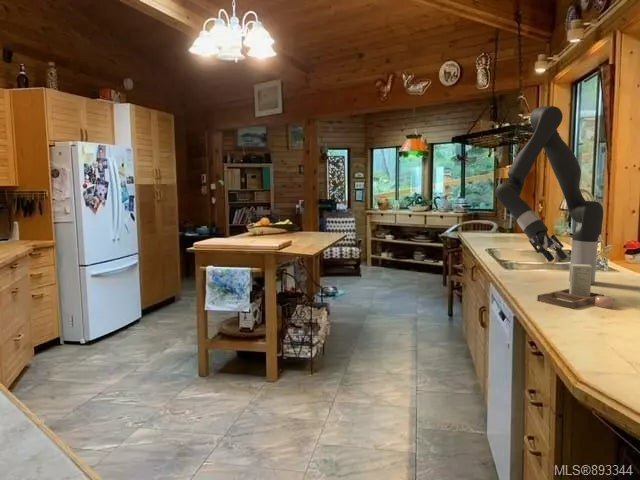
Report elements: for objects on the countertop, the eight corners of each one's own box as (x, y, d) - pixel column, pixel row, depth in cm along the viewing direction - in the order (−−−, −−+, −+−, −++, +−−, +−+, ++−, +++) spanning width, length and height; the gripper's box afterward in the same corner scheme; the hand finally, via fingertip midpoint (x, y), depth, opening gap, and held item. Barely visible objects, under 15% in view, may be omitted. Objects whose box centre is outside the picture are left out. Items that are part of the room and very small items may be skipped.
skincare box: (587, 298, 175) (590, 264, 174) (590, 301, 171) (593, 266, 170) (568, 296, 178) (570, 263, 176) (569, 299, 173) (572, 265, 172)
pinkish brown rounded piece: (599, 304, 168) (600, 295, 167) (614, 307, 164) (615, 298, 163) (591, 306, 165) (592, 297, 165) (607, 309, 161) (608, 300, 160)
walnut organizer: (569, 293, 182) (569, 288, 182) (603, 300, 172) (604, 294, 172) (537, 300, 170) (537, 295, 170) (571, 308, 161) (572, 302, 160)
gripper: (527, 219, 181) (555, 254, 173) (549, 218, 189) (577, 252, 181) (513, 232, 186) (540, 267, 178) (535, 230, 194) (561, 264, 186)
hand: (558, 259), depth 180 cm, fingers open, 8 cm apart
